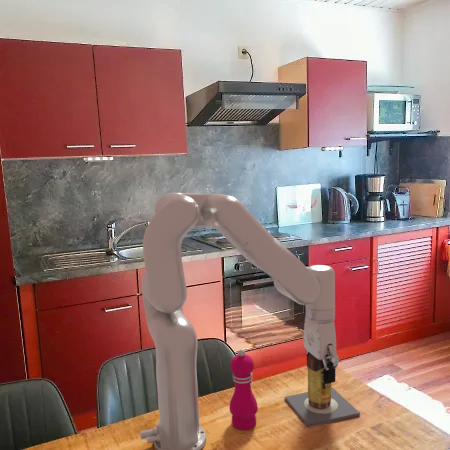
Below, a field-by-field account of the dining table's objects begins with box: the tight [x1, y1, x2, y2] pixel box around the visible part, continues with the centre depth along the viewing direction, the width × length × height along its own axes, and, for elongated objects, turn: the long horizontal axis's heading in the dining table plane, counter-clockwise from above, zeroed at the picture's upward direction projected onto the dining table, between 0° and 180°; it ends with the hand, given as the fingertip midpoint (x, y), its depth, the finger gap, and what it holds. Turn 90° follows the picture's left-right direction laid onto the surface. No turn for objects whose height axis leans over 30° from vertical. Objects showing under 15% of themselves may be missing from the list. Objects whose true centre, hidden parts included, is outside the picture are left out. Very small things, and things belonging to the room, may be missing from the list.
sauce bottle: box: [307, 353, 332, 409], centre depth 120 cm, size 7×6×20 cm
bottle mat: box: [284, 386, 361, 428], centre depth 121 cm, size 15×14×1 cm
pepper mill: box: [229, 348, 259, 431], centre depth 114 cm, size 7×7×20 cm
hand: (320, 374), depth 120 cm, fingers open, 8 cm apart
